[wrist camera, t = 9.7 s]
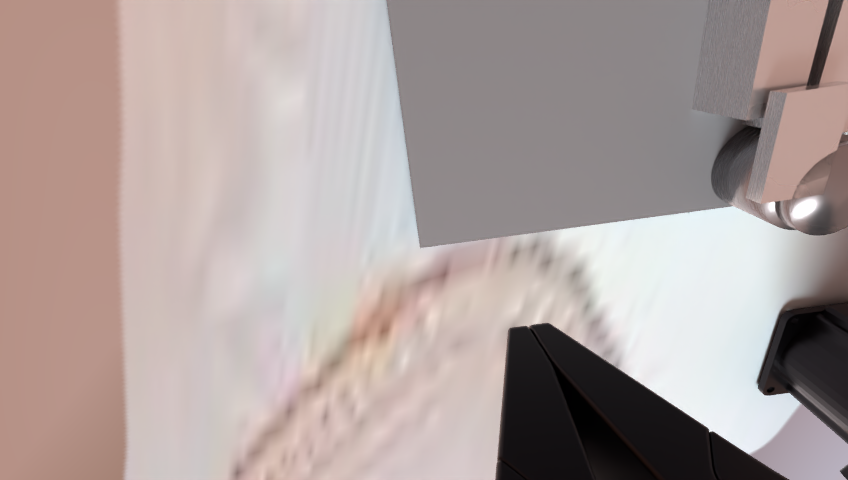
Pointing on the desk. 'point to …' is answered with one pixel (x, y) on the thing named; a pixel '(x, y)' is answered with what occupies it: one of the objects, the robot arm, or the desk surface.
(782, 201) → the tong arm
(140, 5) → the desk surface
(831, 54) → the fixed tong arm
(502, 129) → the mat
